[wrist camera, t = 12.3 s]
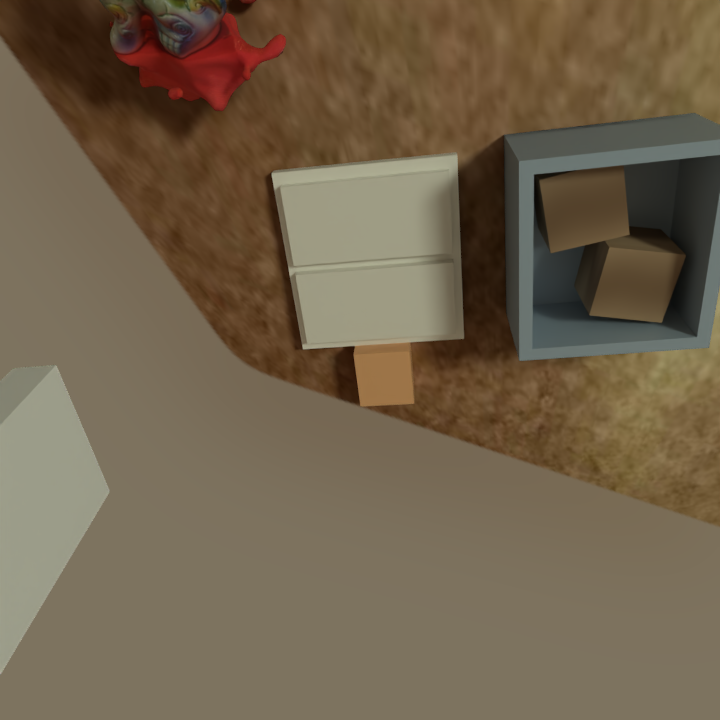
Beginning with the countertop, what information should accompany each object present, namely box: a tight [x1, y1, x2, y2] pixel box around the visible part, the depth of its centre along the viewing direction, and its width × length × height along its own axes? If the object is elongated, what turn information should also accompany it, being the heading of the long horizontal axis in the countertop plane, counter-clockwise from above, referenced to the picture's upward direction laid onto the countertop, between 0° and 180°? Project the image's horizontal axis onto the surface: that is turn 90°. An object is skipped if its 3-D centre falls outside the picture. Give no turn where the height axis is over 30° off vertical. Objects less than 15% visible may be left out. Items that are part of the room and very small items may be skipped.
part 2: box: [574, 226, 686, 323], centre depth 36 cm, size 4×4×4 cm
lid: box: [271, 152, 464, 406], centre depth 40 cm, size 16×11×2 cm
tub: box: [504, 113, 720, 361], centre depth 35 cm, size 11×10×6 cm
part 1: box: [534, 165, 630, 253], centre depth 34 cm, size 4×4×4 cm
